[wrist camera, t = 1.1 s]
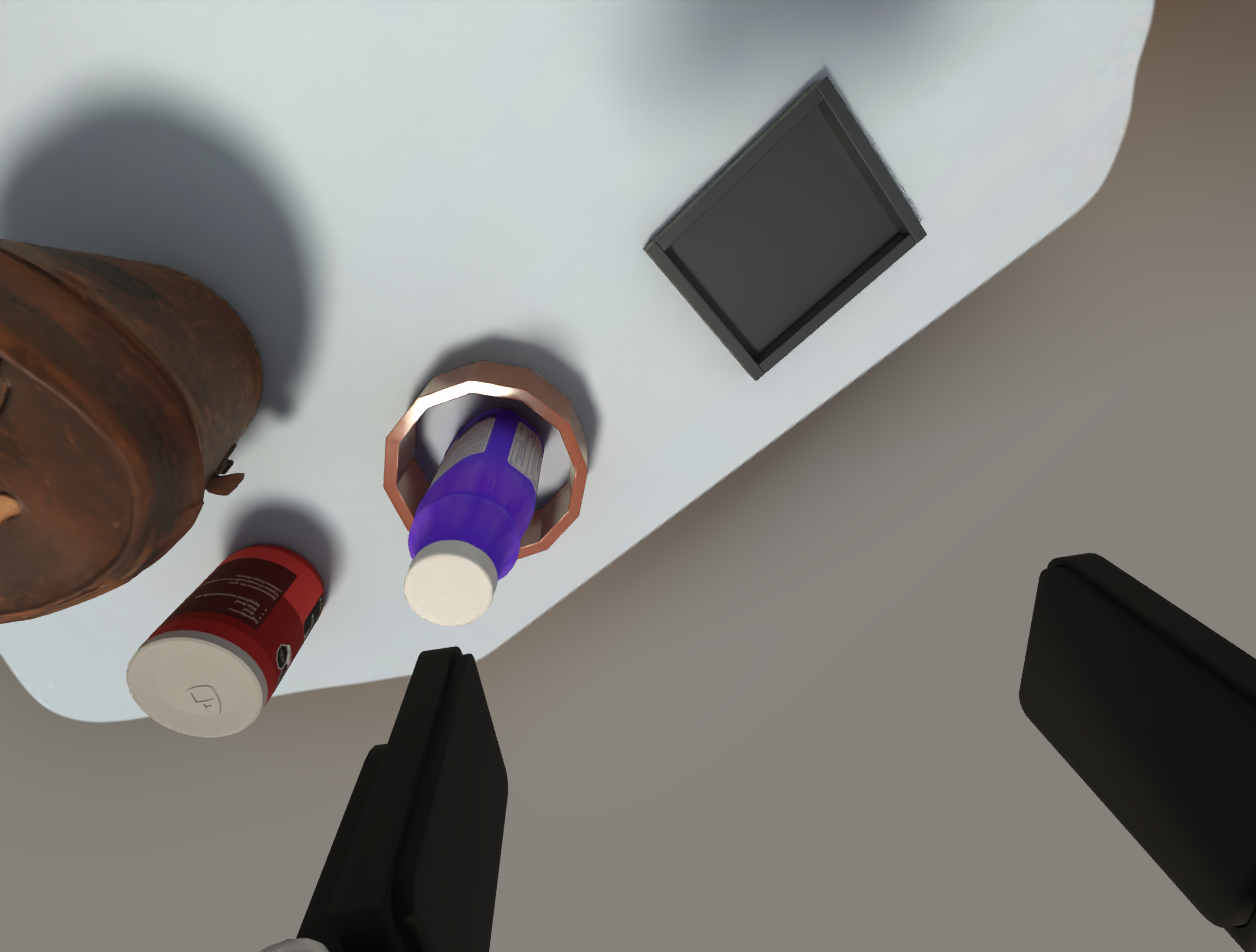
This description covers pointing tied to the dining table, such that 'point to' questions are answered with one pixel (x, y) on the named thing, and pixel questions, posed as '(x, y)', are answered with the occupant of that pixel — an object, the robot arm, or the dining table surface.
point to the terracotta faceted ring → (504, 382)
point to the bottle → (473, 518)
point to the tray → (787, 232)
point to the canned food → (228, 643)
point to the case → (109, 418)
